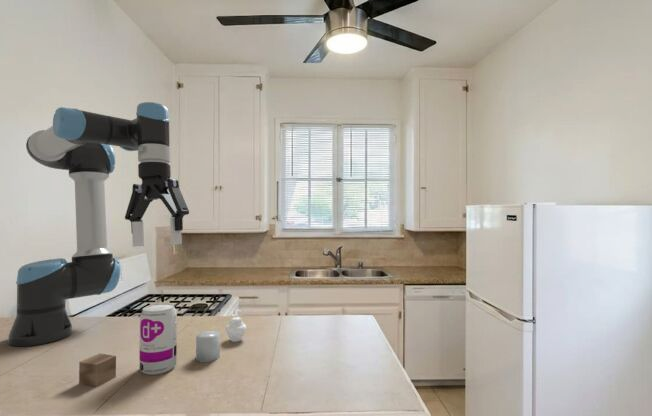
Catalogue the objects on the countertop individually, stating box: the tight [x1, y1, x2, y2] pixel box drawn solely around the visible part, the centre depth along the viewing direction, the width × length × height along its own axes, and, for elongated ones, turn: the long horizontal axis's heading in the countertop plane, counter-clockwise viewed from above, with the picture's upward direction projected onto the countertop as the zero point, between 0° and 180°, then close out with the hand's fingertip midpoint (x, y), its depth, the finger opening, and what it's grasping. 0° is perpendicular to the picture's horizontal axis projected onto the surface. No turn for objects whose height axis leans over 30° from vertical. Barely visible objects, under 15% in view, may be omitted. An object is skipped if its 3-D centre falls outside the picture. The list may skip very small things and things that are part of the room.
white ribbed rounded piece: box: [225, 316, 247, 343], centre depth 106 cm, size 6×6×7 cm
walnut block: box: [78, 352, 117, 388], centre depth 80 cm, size 5×5×5 cm
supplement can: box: [138, 303, 178, 376], centre depth 87 cm, size 8×8×15 cm
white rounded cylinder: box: [195, 330, 221, 363], centre depth 93 cm, size 6×6×6 cm
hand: (156, 245), depth 90 cm, fingers open, 13 cm apart
